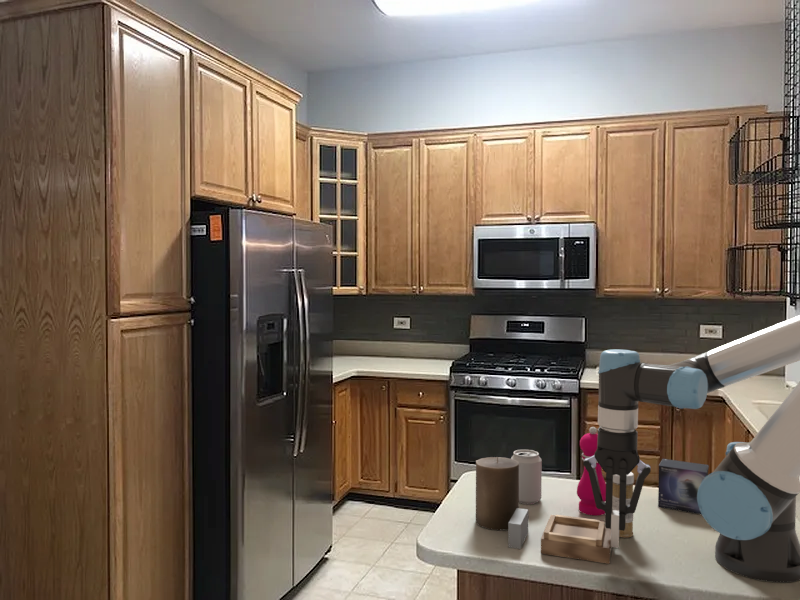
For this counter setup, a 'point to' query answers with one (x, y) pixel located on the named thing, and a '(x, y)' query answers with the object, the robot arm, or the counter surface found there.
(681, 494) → the small box
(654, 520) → the counter surface
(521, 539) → the backstop wall
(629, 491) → the sprinkles bottle
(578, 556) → the socket block
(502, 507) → the pillar candle
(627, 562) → the counter surface
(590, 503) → the pepper mill
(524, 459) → the can
